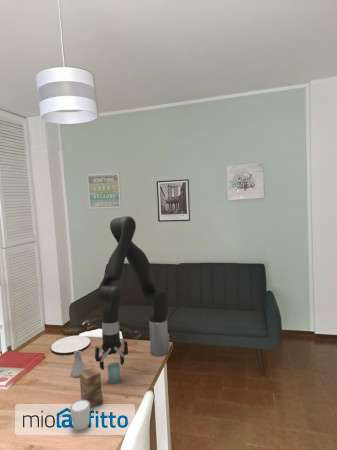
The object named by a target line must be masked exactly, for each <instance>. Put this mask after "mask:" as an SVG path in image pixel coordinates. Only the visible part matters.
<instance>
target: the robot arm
mask: <svg viewBox="0 0 337 450" xmlns="http://www.w3.org/2000/svg"><path fill="white" fill-rule="evenodd" d="M136 228H137V226H136V219H134V218H133V217H132V216H130V215H128V216H121V217H116V218H113V219H112V220H111V221H110V223H109V229H110V232H111V233H112V236H113V237H114V239H115V240H116V242H117V245H116V247H115V249H114V250H113V251H112V254H111V255H110V257H109V258H108V263H107V267H106V269H105V274H104V276H103V278H102V280H101V282H100V283H99V286H98V288H97V291H96V296H97V299H98V300H99V301H100V302H104V303H106V302H107V303H110V305H108V306H104V307H103V308H102V310H101V320H102V321H101V335H102V336H101V337H102V339H101V340H102V343H101V345H100V346H98V345H95V346H94V347H95V349H94V359H95V361H96V363H97V362H99V368H100V369H101V370H102V371H104V370H105V365H104V363H105V362H104V361H105V359H106V358H107V356H111V355H115V354H116V353H118V354H119V365H121V366H123V365H124V364H125V356H127V355H129V349H128V348H129V347H128V346H129V345H128V342H127V340H126V339H123V341H121V338H120V337H121V334H120V333H121V332H120V329H121V327H120V321H119V309H120V303H121V300H122V296H123V293H122V290H121V288H120V286H118V285H112V284H113V283H114V282H118V281H121V279H122V276H123V275H122V274H123V269H124V264H125V262H126V261H125V260H127V262H128V264H129V267H130V268H131V271H132V273H133V275H134V276H135V278H136V280H137V282H138V285H139V286H140V289H141V292H142V295H143V297H144V300H145V301H146V303H147V304H148V305H149V306H151V307H153V311H152V312H151V313H149V316H148V320H149V321H148V324H149V326H148V327H149V343H150V344H149V346H150V354H151V355H153V356H155V357H156V356H157V357H162V356H165V355H167V354H168V353H170V352H171V350H170V349H171V347H170V346H171V344H170V334H169V333H168V315H169V296H168V293H167V291H166V290H164V289H160V288H157V287H156V285H155V283H154V282H153V278H152V267H151V266H152V265H151V263H150V261H149V259H148V257H147V255H146V253H145V252H144V251H143V250H142V249H141V248H139V247H138V246H137V245H136V244H135V243H134V242H133V239H134V238H133V237H134V235H135V232H136ZM121 346H122V347H123V351H122V350H121V349H120V348H121ZM101 350H102V352H101ZM100 352H101V354H100Z"/></svg>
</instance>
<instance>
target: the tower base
mask: <svg viewBox="0 0 337 450" xmlns="http://www.w3.org/2000/svg"><path fill="white" fill-rule="evenodd" d="M80 398H81V399H80V400H87V401H89V402H90V409H92V408H94V407H95V408H96V407H97V406H98V407H99V406H100V405H103V389H102V387H101V388H99V389H97V390H95V391H93V392H91V393H88V394H87V393H86V392H85V391H84V390H83V389H82V388H81V387H80Z"/></svg>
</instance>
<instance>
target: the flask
mask: <svg viewBox="0 0 337 450" xmlns="http://www.w3.org/2000/svg"><path fill="white" fill-rule="evenodd" d="M81 354H82V350H79V351H76V352H73V355H74V361H73V366H72V369H71V373H70V377H73V378H80V372H83V371H85V370H87V367H86V366H85V363H84V362H83V359H82V355H81Z"/></svg>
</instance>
